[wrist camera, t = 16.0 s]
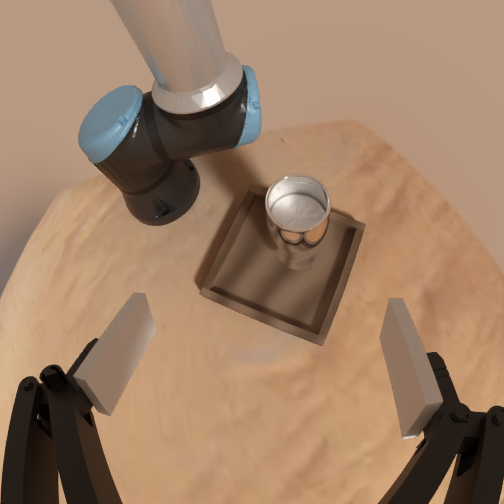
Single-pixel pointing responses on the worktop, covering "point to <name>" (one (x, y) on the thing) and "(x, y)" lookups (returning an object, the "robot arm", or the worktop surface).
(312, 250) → the silver metal cup
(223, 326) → the worktop surface
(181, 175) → the robot arm
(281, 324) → the walnut tray
